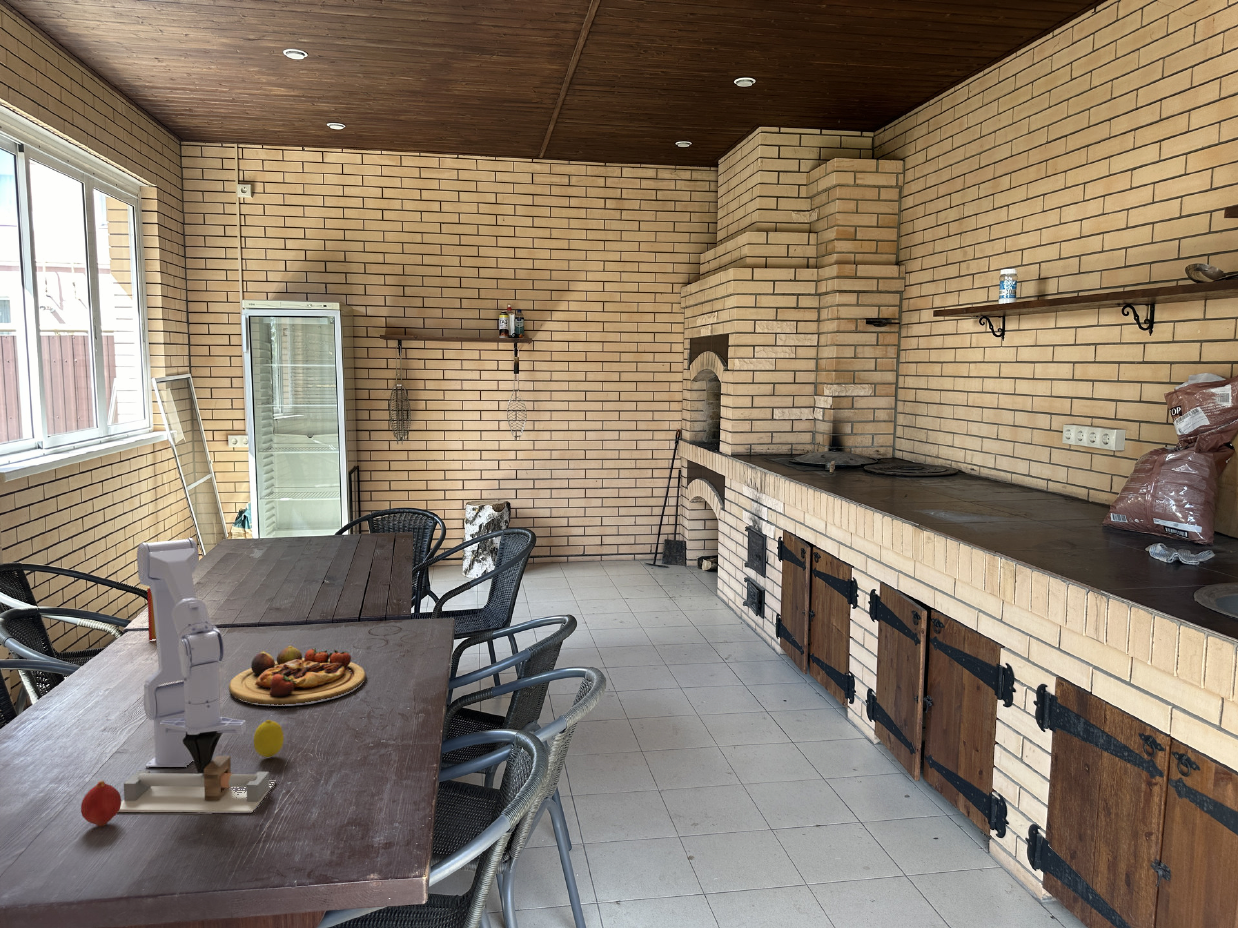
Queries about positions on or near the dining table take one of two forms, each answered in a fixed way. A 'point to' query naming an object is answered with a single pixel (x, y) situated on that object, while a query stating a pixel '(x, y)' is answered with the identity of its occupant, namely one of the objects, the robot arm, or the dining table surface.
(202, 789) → the rail
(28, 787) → the dining table surface
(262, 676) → the wooden plate with food
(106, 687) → the dining table surface
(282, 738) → the lemon
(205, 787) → the collar
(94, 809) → the red pomegranate
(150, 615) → the baking soda box
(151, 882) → the dining table surface
